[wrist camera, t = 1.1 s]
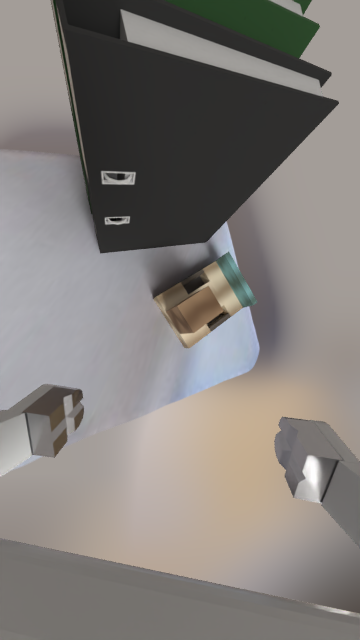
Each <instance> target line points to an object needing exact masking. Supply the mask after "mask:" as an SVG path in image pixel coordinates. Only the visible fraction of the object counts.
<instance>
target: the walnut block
mask: <svg viewBox="0 0 360 640" xmlns="http://www.w3.org/2000/svg"><path fill="white" fill-rule="evenodd" d="M222 312H223V309H222V307H221V306H220V304H219V302H218V301H217V299H216V297H215V295H214V294H213V292H212V290H211V289H210V287H209V286H207V287H205V288H203V289H202V290H200V291H198V292H196V293H194V294H193V295H191V296H190V297H188V298H186V299H185V300H183V301H182V302H180V303H179V304H177V305H176V306H174V307H172V308H171V309H169V310H168V311H166V313H167V314H168V316H169V318H170V319H171V321H172V322H173V324H174V325H175V327H176V329H177V330H178V332H179V333H180V334H187V333H195V332H196V331H197V330H199V329H200V328H202V327H203V326H204V325H206V324H207V323H208V322H210V321H211V320H212V319H214V318H215V317H217V316H218V315H219V314H221V313H222Z"/></svg>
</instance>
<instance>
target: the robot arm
mask: <svg viewBox="0 0 360 640" xmlns="http://www.w3.org/2000/svg"><path fill="white" fill-rule="evenodd" d="M82 398H83V393H82V390H80V389H77V388H71V387H65V386H57V385H51V384H44V385H42V386H40V387H39V388H38V389H36V390H35V391H33V392H32V393H31V394H29V395H28V396H27V397H25V398H24V399H22V400H21V401H20V402H18V403H17V404H15V405H14V406H13V407H11V408H10V409H9V410H2V411H0V477H1V476H3V475H4V474H6V473H7V472H9V471H10V470H12V469H13V468H15V467H16V466H18V465H19V464H21V463H22V462H24V461H25V460H27V459H28V458H30V457H31V456H32V455H39V456H47V457H54V458H55V456H56V455H57V454H58V453H59V451H60V450H61V449H62V448H63V446H64V445H65V444H66V442H67V437H68V435H70V434H71V433H73V432H75V431H76V429H77V428H78V427H79V425H80V423H81V421H82V419H83V414H84V406H83V405H82V404H81V402H80V401H81V400H82ZM279 427H280V429H281V431H280V432H279V433H277V434H276V437H275V441H274V442H275V452H276V456H277V459H278V461H279V463H280V464H281V465H282V466H283V467H284V468H285V469H286V473H285V478H286V480H287V483H288V486H289V488H290V490H291V493H292V495H293V497H294V498H296V499H302V500H307V501H311V502H317V503H321V504H322V506H323V508H324V509H325V510H326V511H327V512H328V513H329V514H330V515H331V517H332V518H333V519H334V520H335V521H336V522H337V523H338V524H339V526H340V527H341V528H342V529H343V530H344V531H345V532H346V534H348V536H349V537H350V538H351V539H352V540H353V541H354V542H355V544H356V545H357V546H358V547H359V548H360V461H359V460H358V459H357V458H356V456H355V455H354V454H353V453H352V452H351V450H350V449H349V448H348V447H347V446H346V445H345V443H344V442H343V441H342V440H341V439H340V437H339V436H338V435H337V434H336V433H335V432H334V430H333V429H332V428H331V427H330V426H329V425H328V424H327V423H326V422H323V421H313V420H303V419H294V418H288V417H282V418H281V419H280V422H279ZM0 640H360V614H359V613H353V612H349V611H345V610H340V609H335V608H330V607H325V606H321V605H316V604H311V603H307V602H302V601H297V600H292V599H288V598H283V597H278V596H273V595H268V594H264V593H259V592H254V591H249V590H245V589H240V588H235V587H230V586H226V585H221V584H216V583H212V582H207V581H202V580H197V579H192V578H188V577H183V576H178V575H173V574H169V573H164V572H159V571H154V570H150V569H145V568H140V567H135V566H130V565H125V564H121V563H116V562H112V561H107V560H102V559H97V558H92V557H88V556H83V555H78V554H73V553H68V552H64V551H59V550H54V549H49V548H45V547H39V546H35V545H30V544H26V543H21V542H15V541H11V540H6V539H2V538H0Z"/></svg>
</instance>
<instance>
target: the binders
mask: <svg viewBox="0 0 360 640" xmlns="http://www.w3.org/2000/svg"><path fill="white" fill-rule="evenodd" d="M311 1H312V0H51V4H52V9H53V15H54V20H55V25H56V31H57V36H58V41H59V47H60V52H61V57H62V63H63V68H64V74H65V78H66V84H67V89H68V95H69V100H70V105H71V111H72V116H73V121H74V127H75V132H76V137H77V142H78V148H79V153H80V159H81V164H82V169H83V175H84V180H85V185H86V191H87V195H88V200H89V204H90V209H91V213H92V214H93V220H94V225H95V231H96V236H97V240H98V244H99V249H100V253H108V252H118V251H127V250H137V249H147V248H156V247H166V246H176V245H185V244H195V243H205V242H207V241H208V240H209V239H210V238H211V237H212V236H213V234H214V233H215V232H216V231H217V230H218V229H219V228H220V227H221V226H222V225H223V224H224V223H225V222H226V221H227V220H228V219H229V218H230V217H231V216H232V215H233V214H234V213H235V211H236V210H237V209H238V208H239V207H240V206H241V205H242V204H243V203H244V202H245V201H246V200H247V199H248V198H249V197H250V196H251V195H252V194H253V193H254V192H255V191H256V190H257V189H258V187H259V186H260V185H261V184H262V183H263V182H264V181H265V180H266V179H267V178H268V177H269V176H270V175H271V174H272V173H273V172H274V171H275V170H276V169H277V168H278V166H280V164H281V163H282V162H283V161H284V160H285V159H286V158H287V157H288V156H289V155H290V154H291V153H292V152H293V151H294V150H295V149H296V148H297V147H298V146H299V145H300V144H301V143H302V142H303V141H304V139H305V138H306V137H307V136H308V135H309V134H310V133H311V132H312V131H313V130H314V129H315V128H316V127H317V126H318V125H319V124H320V123H321V122H322V121H323V119H324V118H326V116H327V115H328V114H329V113H330V112H331V111H332V110H333V109H334V108H335V107H336V106H337V105H338V104H339V102H338V101H336V100H333V99H329V98H326V97H323V95H322V91H321V87H322V86H323V85H324V83H325V82H326V81H327V80H328V79H329V77H330V76H331V72H329V71H327V70H324V69H322V68H320V67H318V66H315V65H313V64H311V63H308V62H306V61H304V60H301V59H299V58H300V56H301V55H302V53H303V52H304V50H305V48H306V47H307V45H308V44H309V42H310V41H311V39H312V38H313V37H314V35H315V33H316V32H317V30H318V29H319V27H320V26H319V24H317V23H315V22H313V21H311V20H309V19H307V18H305V17H303V14H304V13H305V11H306V9H307V7H308V6H309V4H310V2H311Z"/></svg>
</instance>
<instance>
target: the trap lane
mask: <svg viewBox="0 0 360 640" xmlns="http://www.w3.org/2000/svg"><path fill="white" fill-rule="evenodd" d="M207 286H209V287H210V289H211V290H212V292H213V294H214V295H215V297H216V299H217V301H218V302H219V304H220V306H221V307H222V309H223V312H222V313H221V314H219V315H218V316H217V317H215V318H214V319H212V320H211V321H210V322H208V323H207V324H206V325H204V326H203V327H202V328H200V329H199V330H197V331H196V332H195V333H187V334H180V333H179V332H178V330H177V329H176V327H175V325H174V324H173V322H172V321H171V319H170V318H169V316H168V314H167V313H166V311H168V310H169V309H171V308H172V307H174V306H176V305H177V304H179V303H180V302H182V301H183V300H185V299H186V298H188V297H190V296H191V295H193V294H194V293H196V292H198V291H200V290H202V289H203V288H205V287H207ZM154 301H155V302H156V304H157V305H158V307H159V309H160V310H161V312H162V313H163V315H164V316H165V318H166V320H167V321H168V323H169V324H170V326H171V327H172V329H173V331H174V332H175V334H176V335H177V337H178V338H179V340H180V342H181V343H182V345H183V346H184V348H190V347H192V346H193V345H194V344H195V343H197V342H198V341H199V340H201V339H202V338H203V337H205V336H206V335H207V334H209V333H210V332H211V331H213V330H214V329H215V328H217V327H218V326H219V325H220V324H222V323H223V322H224V321H226V320H227V319H228V318H230V317H231V316H232V315H234V314H235V313H236V312H238V311H239V310H240V309H242V308H243V307H247V306H251V305H254V304H255V303H257V301H256V299H255V297H254V295H253V294H252V292H251V290H250V288H249V286H248V285H247V283H246V281H245V279H244V278H243V276H242V274H241V272H240V271H239V269H238V267H237V265H236V264H235V262H234V260H233V258H232V257H231V255H230V253H229V252H228V253H226V254H224V255H223V256H222V257H220V258H219V259H218V260H216V261H215V262H213V263H212V264H210V265H208V266H207V267H205V268H203V269H202V270H200V271H198V272H197V273H195V274H193V275H192V276H190V277H188V278H186V279H185V280H183V281H181V282H180V283H178V284H176V285H175V286H173V287H171V288H170V289H168V290H166V291H165V292H163V293H161V294H160V295H158V296H156V297H155V298H154Z"/></svg>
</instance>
